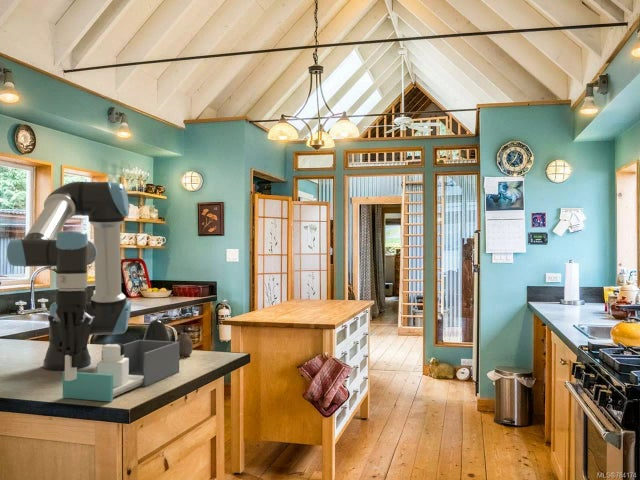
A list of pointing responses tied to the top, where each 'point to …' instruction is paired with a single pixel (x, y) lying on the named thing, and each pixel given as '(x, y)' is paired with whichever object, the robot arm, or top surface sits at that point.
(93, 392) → the tray
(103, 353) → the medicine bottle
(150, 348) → the bay
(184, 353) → the vase
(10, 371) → the top surface
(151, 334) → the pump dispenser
